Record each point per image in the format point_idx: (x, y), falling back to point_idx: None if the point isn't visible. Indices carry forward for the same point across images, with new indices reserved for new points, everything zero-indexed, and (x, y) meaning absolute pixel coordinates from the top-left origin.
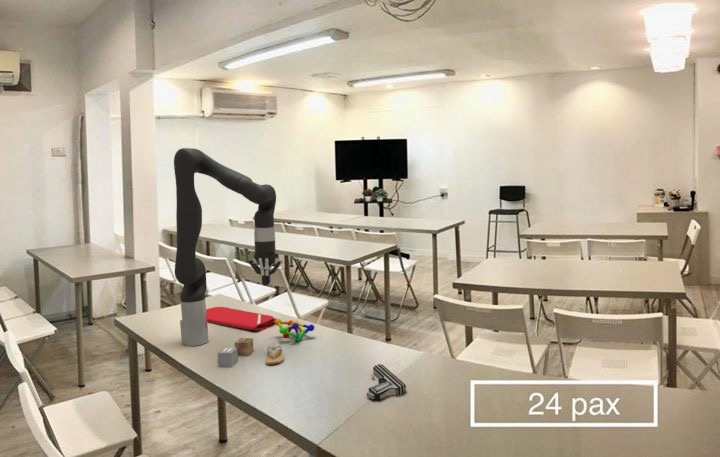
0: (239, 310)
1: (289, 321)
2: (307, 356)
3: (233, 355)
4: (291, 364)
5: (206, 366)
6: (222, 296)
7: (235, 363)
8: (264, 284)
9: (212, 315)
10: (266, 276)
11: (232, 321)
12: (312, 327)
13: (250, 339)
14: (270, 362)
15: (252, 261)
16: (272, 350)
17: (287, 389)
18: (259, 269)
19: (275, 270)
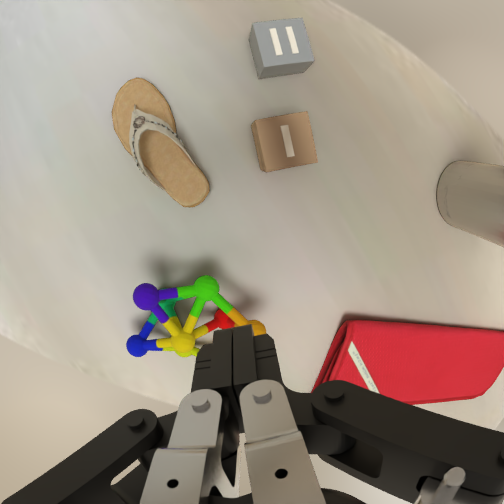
0: (438, 400)
1: None
2: (71, 188)
3: (254, 42)
4: (83, 117)
5: (326, 29)
6: None
7: (254, 61)
8: (240, 329)
9: (484, 349)
10: (211, 386)
11: (432, 336)
12: (127, 341)
13: (267, 156)
14: (131, 80)
15: (478, 491)
16: (141, 115)
17: (41, 7)
18: (347, 454)
19: (88, 451)
